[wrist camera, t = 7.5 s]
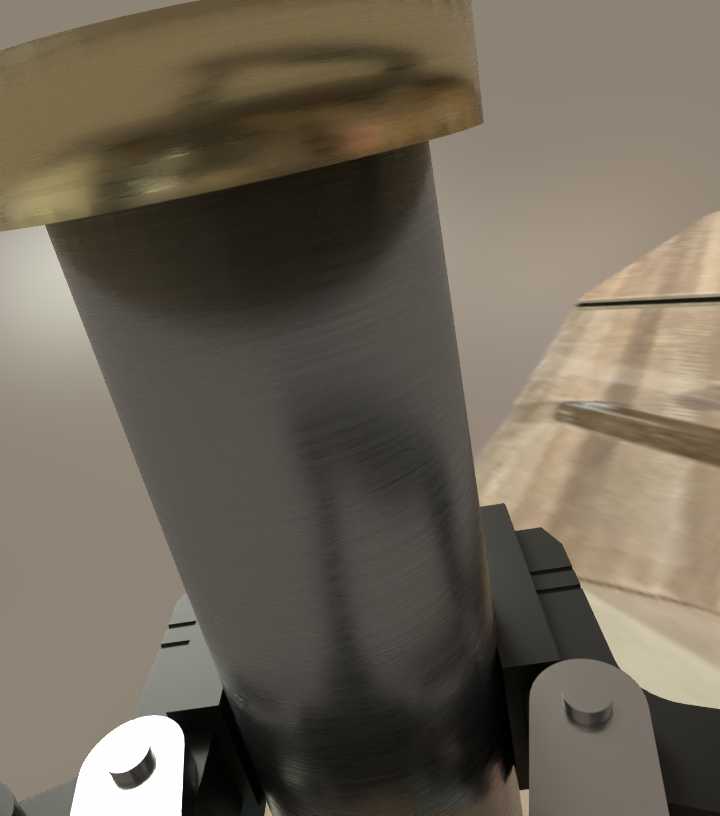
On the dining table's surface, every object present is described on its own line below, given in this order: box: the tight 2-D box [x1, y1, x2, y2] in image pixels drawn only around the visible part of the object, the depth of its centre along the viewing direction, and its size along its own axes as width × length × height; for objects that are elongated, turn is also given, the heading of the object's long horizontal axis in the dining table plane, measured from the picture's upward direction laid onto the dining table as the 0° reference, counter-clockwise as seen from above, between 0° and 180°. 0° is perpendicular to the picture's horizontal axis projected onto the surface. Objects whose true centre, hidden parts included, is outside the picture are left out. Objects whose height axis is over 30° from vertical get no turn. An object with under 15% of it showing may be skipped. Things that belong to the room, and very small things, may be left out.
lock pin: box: [0, 0, 523, 816], centre depth 9 cm, size 5×5×18 cm
